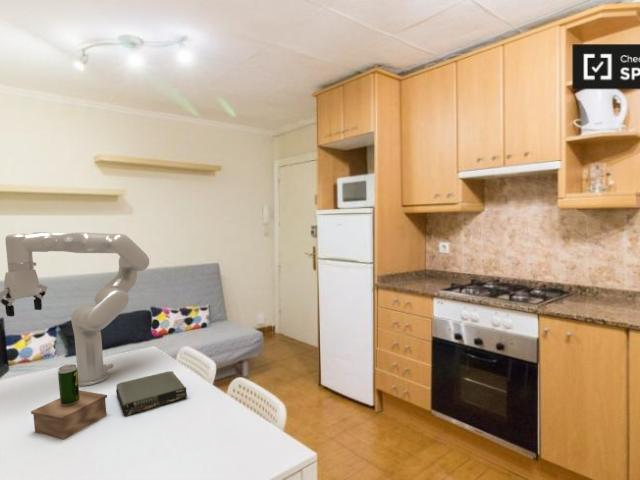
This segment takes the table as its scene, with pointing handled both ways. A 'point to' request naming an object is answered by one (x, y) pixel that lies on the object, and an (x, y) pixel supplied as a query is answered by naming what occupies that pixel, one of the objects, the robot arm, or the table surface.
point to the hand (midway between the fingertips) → (24, 312)
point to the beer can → (68, 385)
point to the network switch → (149, 392)
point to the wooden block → (69, 415)
